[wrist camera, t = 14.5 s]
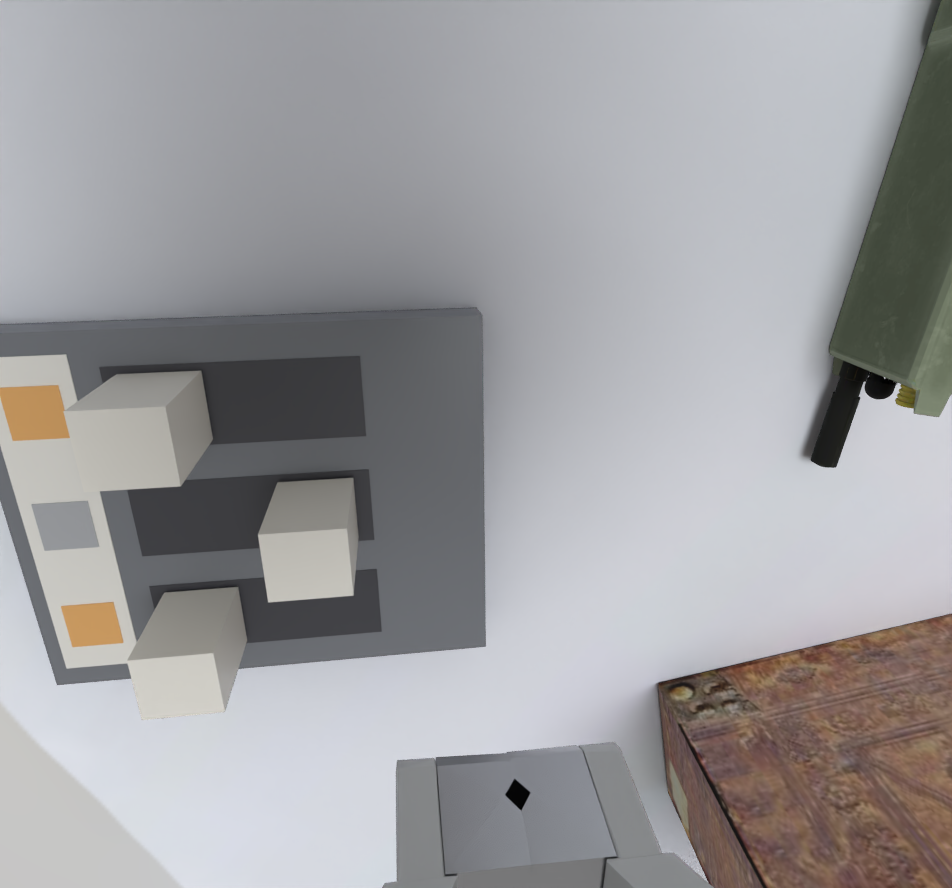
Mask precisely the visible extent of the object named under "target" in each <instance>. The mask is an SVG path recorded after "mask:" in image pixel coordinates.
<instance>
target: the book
mask: <svg viewBox="0 0 952 888" xmlns="http://www.w3.org/2000/svg"><path fill="white" fill-rule="evenodd" d="M658 688H659V699H660V710H661V720H662V731H663V742H664V752H665V763H666V773H667V784H668V793H669V795H670V798H671V800H672V802H673V804H674V807H675V809H676V811H677V813H678V816H679V818H680V820H681V822H682V824H683V827H684V829H685V831H686V833H687V836H688V838H689V840H690V842H691V845H692V847H693V849H694V851H695V853H696V856H697V858H698V860H699V862H700V865H701V867H702V869H703V871H704V873H705V876H706V878H707V880H708V882H709V884H710V885H711V886H713V887H714V888H952V614H949V615H944V616H940V617H936V618H932V619H928V620H923V621H919V622H915V623H911V624H907V625H902V626H898V627H894V628H890V629H885V630H881V631H877V632H873V633H869V634H864V635H860V636H856V637H852V638H848V639H843V640H839V641H835V642H831V643H827V644H822V645H818V646H814V647H810V648H805V649H801V650H797V651H793V652H789V653H784V654H780V655H776V656H772V657H768V658H763V659H759V660H755V661H751V662H746V663H742V664H738V665H734V666H730V667H725V668H721V669H717V670H713V671H709V672H704V673H700V674H696V675H692V676H687V677H683V678H679V679H675V680H671V681H666V682H662V683H659V687H658Z"/></svg>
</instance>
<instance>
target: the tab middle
mask: <svg viewBox="0 0 952 888" xmlns="http://www.w3.org/2000/svg"><path fill="white" fill-rule="evenodd" d="M358 538H359V536H358V525H357V514H356V502H355V491H354V480H353V478H340V479H324V480H308V481H291V482H277V485H276V488H275V490H274V493H273V496H272V498H271V501H270V504H269V506H268V509H267V512H266V514H265V517H264V520H263V522H262V525H261V528H260V530H259V533H258V539H259V546H260V552H261V559H262V565H263V572H264V578H265V585H266V591H267V598H268V602H281V601H293V600H306V599H318V598H331V597H343V596H354V584H355V573H356V561H357V550H358Z"/></svg>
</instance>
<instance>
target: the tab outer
mask: <svg viewBox="0 0 952 888" xmlns="http://www.w3.org/2000/svg"><path fill="white" fill-rule="evenodd" d="M246 642H247V636H246V630H245V624H244V618H243V612H242V607H241V601H240V595H239V589H238V587H230V588H217V589H204V590H191V591H178V592H165V593H164V594H163V596H162V597H161V599H160V601H159V603H158V605H157V607H156V608H155V610H154V612H153V614H152V616H151V618H150V619H149V621H148V623H147V625H146V627H145V628H144V630H143V632H142V634H141V636H140V638H139V639H138V641H137V643H136V645H135V647H134V648H133V650H132V652H131V654H130V656H129V658H128V659H127V663H128V667H129V671H130V675H131V679H132V683H133V687H134V691H135V695H136V699H137V703H138V707H139V711H140V714H141V718H142V720H148V719H159V718H169V717H180V716H190V715H200V714H211V713H221V712H225V710H226V707H227V704H228V700H229V697H230V694H231V691H232V688H233V684H234V681H235V678H236V675H237V671H238V668H239V665H240V662H241V659H242V655H243V652H244V649H245V646H246Z"/></svg>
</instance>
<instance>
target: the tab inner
mask: <svg viewBox="0 0 952 888" xmlns="http://www.w3.org/2000/svg"><path fill="white" fill-rule="evenodd" d="M63 412H64V416H65V420H66V424H67V428H68V432H69V436H70V440H71V444H72V448H73V452H74V455H75V459H76V463H77V467H78V471H79V475H80V479H81V483H82V487H83V491H84V492H98V491H114V490H130V489H147V488H163V487H179V486H181V485H182V484H183V483H184V481H185V480H186V478H187V477H188V475H189V474H190V472H191V471H192V469H193V468H194V467H195V465H196V464H197V462H198V461H199V459H200V458H201V456H202V455H203V453H204V452H205V451H206V449H207V448H208V446H209V445H210V443H211V442H212V440H213V436H212V430H211V425H210V419H209V413H208V407H207V401H206V395H205V389H204V384H203V378H202V372H201V371H179V372H156V373H133V374H116V375H115V376H113V377H112V378H110V379H109V380H107V381H106V382H105V383H103V384H102V385H100V386H99V387H97V388H96V389H95V390H93V391H92V392H90V393H89V394H88V395H86V396H85V397H83V398H82V399H80V400H79V401H78V402H76V403H75V404H73V405H72V406H70V407H69V408H68V409H66V410H65V411H63Z"/></svg>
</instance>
